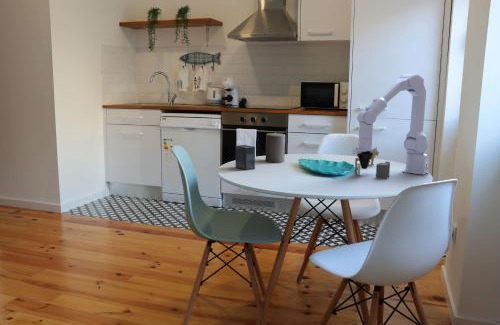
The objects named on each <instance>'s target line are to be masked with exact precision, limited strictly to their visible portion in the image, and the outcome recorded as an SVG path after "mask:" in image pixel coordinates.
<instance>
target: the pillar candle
mask: <svg viewBox="0 0 500 325" xmlns="http://www.w3.org/2000/svg"><path fill="white" fill-rule="evenodd" d="M285 154H286V134H284V133H277V132H276V131H274V133H273V132H272V133H271V132H270V133H269V132H268V133H266V134H265V162H266V163H271V164H282V163H284V162H285Z"/></svg>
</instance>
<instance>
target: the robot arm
mask: <svg viewBox="0 0 500 325" xmlns="http://www.w3.org/2000/svg"><path fill="white" fill-rule="evenodd" d="M402 91H407V92H408V93H409V94H410V95H411V96H412V100H411V101H412V102H411V112H410V113H411V114H410V126H409V131H408V133H407V134H406V137H405V140H404V142H403V147H404V148H405V149H406V150H405V151H406V156H405V169H403V170H401V172H402V173H408V174H415V175H423V176H424V175H426V174H427V173H429V163H430V155H429V154H427V153H425V152H426V151H427V149H428V146H429V145H428V140H427V135H426V134H425V133H424V122H425V110H426V100H427V90H426V86H425V79H424V78H423V77H422V76H421V75H420V74H418V73H417V74H407V73H404V74H401V75H400V76H399V77H398V78H396V80H395V82H394V83H393V84H392V85H391V86H390V88H389V89H387V90H386V92H385V93H384V94H383V95H382V96H381V97H376V98H374V99H372V102H371V103H370V104H369V105H368V106H366V107H365V109H363V110H360V112H359V113H358V115H357V116H356V118H357V119H356V120H357V122H358V124H359V126H358V128H359V129H358V146H357V147H356V148H354V149H352V153H351V154H352V155H356V157H357V158H359V160H360V165H361V166H360V170H367V169H368V167H369V165H368V163H369V164H370V162H371V160H370V158H371V157H372V155H373V153H370V152H371V151H378V147H377V146H374V145H373V130H374V123H376V120H377V117H378V116H379V115H380V114H381V113H382V112H383V111H384V110H385V109H386V108H387V107H388V102H390V101H391V100H392V99H394V97H396V96H397V95H398V94H400V92H402ZM369 161H370V162H369Z"/></svg>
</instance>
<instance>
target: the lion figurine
mask: <svg viewBox="0 0 500 325" xmlns="http://www.w3.org/2000/svg"><path fill="white" fill-rule="evenodd" d="M370 153H373V155H372V157H371V158H370V161H369V163H368V166H369V165H371V166H374V165H375V164H374V160H375V158H376V156H377V157H378V156H379V154H380V152H379V151H378V150H377V151H371V152H370Z"/></svg>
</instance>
